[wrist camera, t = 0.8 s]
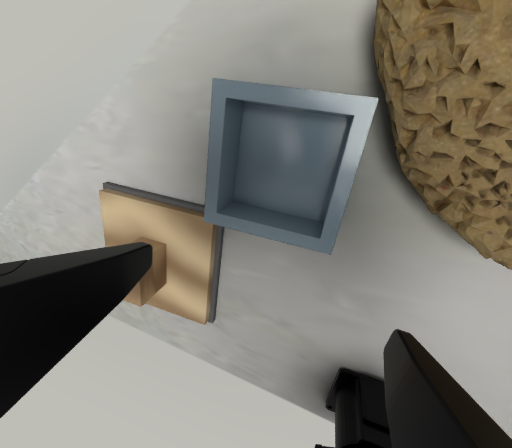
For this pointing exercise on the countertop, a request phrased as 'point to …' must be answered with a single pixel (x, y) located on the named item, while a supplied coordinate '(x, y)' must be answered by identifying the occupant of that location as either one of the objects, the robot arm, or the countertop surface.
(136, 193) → the rubber mat
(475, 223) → the sponge
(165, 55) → the countertop surface
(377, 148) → the countertop surface
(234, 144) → the ceramic dish
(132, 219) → the oak lid
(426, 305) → the countertop surface
